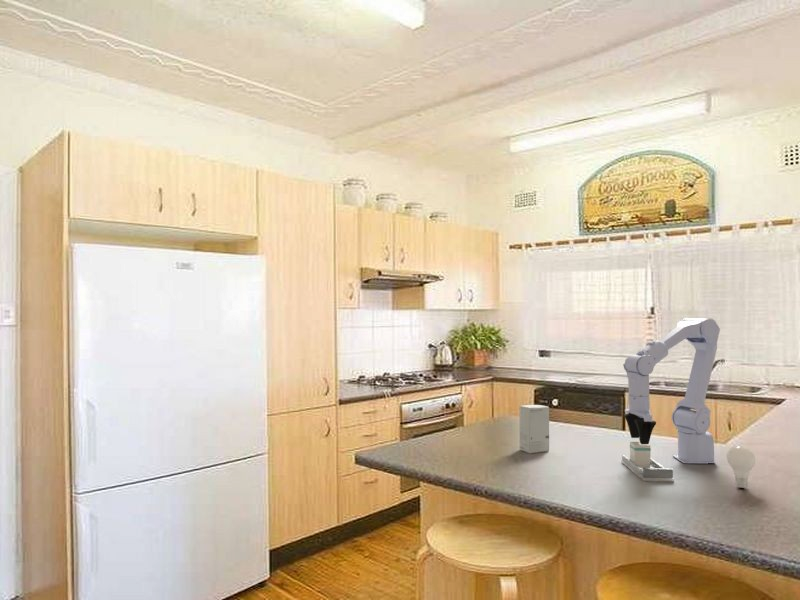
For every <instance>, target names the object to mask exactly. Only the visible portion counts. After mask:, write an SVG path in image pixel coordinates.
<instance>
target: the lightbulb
mask: <svg viewBox="0 0 800 600" xmlns="http://www.w3.org/2000/svg"><path fill="white" fill-rule="evenodd" d="M726 460H727V462H728V464H729V466H730V467H731V469H732V472H733V475H734V476H735V477H734V478H735V486H736V487H738V489H740V488H744V489H746V488H748V478H749V476H750V475H749V474H750V473H751V471H752V469H753V468H754V467H755V464H756V456H755V454H754V452H753V451H752V450H751V449H750V448H748V447H746V446H743V445H735V446H732V447H731V448H730V449H729V450H728V452H727V454H726Z"/></svg>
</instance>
